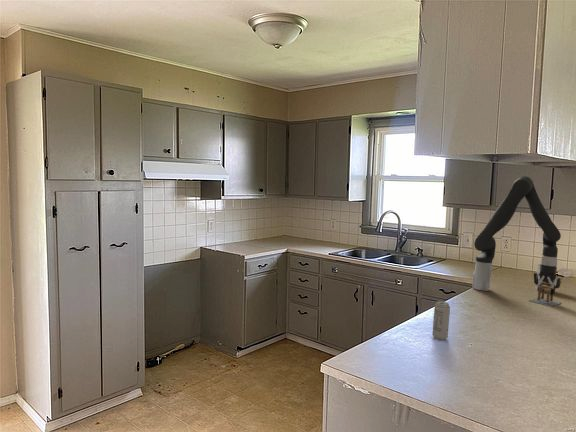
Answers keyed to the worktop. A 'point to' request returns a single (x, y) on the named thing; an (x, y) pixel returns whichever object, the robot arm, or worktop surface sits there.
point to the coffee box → (540, 278)
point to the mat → (543, 301)
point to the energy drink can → (441, 320)
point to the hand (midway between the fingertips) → (545, 293)
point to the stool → (544, 292)
